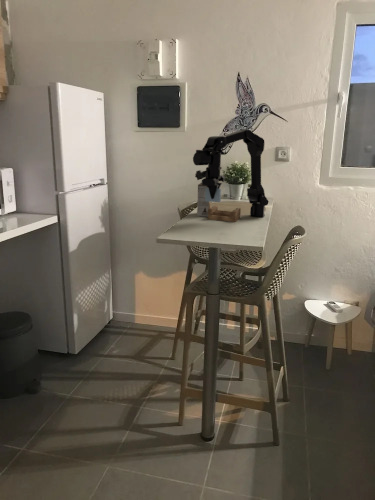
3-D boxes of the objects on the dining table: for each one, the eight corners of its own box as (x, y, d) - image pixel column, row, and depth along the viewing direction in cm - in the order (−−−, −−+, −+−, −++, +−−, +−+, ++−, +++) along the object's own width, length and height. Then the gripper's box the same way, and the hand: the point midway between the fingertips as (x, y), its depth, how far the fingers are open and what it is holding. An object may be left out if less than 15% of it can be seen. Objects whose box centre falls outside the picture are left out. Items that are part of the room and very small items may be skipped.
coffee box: (199, 212, 212) (200, 182, 207) (211, 213, 211) (213, 183, 206) (196, 215, 203) (197, 184, 199) (209, 216, 202) (210, 185, 197)
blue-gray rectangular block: (220, 201, 188) (221, 188, 186) (219, 202, 186) (219, 189, 184) (206, 200, 190) (206, 187, 188) (205, 201, 188) (205, 188, 187)
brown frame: (240, 218, 201) (240, 208, 199) (235, 221, 192) (236, 211, 190) (213, 215, 205) (213, 205, 204) (207, 219, 196) (208, 209, 195)
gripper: (203, 162, 194) (202, 194, 199) (191, 165, 177) (190, 200, 182) (225, 163, 191) (224, 196, 195) (215, 166, 174) (213, 202, 178)
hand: (213, 198), depth 188 cm, fingers closed on blue-gray rectangular block, 2 cm apart
